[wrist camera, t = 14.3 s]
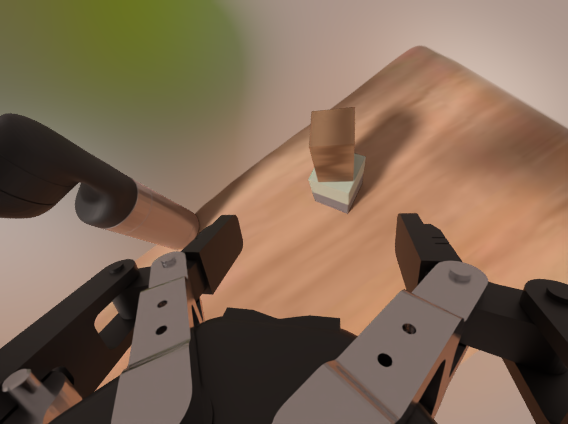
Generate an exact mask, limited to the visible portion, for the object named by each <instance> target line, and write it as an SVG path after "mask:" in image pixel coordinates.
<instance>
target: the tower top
mask: <svg viewBox="0 0 568 424" xmlns="http://www.w3.org/2000/svg"><path fill="white" fill-rule="evenodd" d="M365 159H366V156H362V155H359V154H355V153H354V174H353V181H350V182H318V179H317V176H316V172H315V168H314V169H313V171H312V173H311V175H310V177H309V179H308V180H309V183H310V186H311V189H312V192H314V193H317V194H320V195H322V196H325V197H328V198H331V199H333V200H336V201H339V202H341V203H344V204H347V205H349V203H350V201H351V199H352V197H353V194H354V192H355V190H356V188H357V186H358V184H359V181H360V179H361V177H362V175H363V173H364V167H365Z"/></svg>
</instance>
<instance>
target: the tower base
mask: <svg viewBox="0 0 568 424" xmlns="http://www.w3.org/2000/svg"><path fill="white" fill-rule="evenodd" d="M362 181H363V175H362V177H361V179H360V181H359V184H358V186H357V188H356V190H355V192H354V194H353V197H352V199H351V201H350V203H349V205H347V204H344V203H341V202H339V201H336V200H333V199H331V198H328V197H325V196H322V195H320V194H317V193H314V192H312V193H313V196H314V199H315V201H317V202H319V203H322V204H324V205H327V206H329V207H332V208H334V209H337V210H339V211H342V212H344V213H347V214H348V212H349V210H350V208H351V206H352V204H353V202H354V200H355V198H356V195H357V193H358V191H359V189H360V187H361V185H362Z"/></svg>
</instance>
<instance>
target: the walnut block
mask: <svg viewBox="0 0 568 424" xmlns="http://www.w3.org/2000/svg"><path fill="white" fill-rule="evenodd" d="M354 148H355V107H350V108H341V109H331V110H322V111H312V114H311V127H310V141H309V149H310V152H311V156H312V160H313V164H314V168H315V172H316V176H317V179H318V182H350V181H353V174H354Z"/></svg>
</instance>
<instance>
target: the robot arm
mask: <svg viewBox="0 0 568 424" xmlns="http://www.w3.org/2000/svg"><path fill="white" fill-rule="evenodd" d="M79 182H81V185H80V188H79V190H78V193H77V196H76V200H75V210H76V213H77V215H78V217H79V219H80V220H82V221H83V222H84V223H86V224H89V225H91V226H95V227H98V228H102V229H105V230H109V231H113V232H116V233H120V234H123V235H126V236H130V237H133V238H137V239H140V240H144V241H147V242H151V243H154V244H158V245H161V246H164V247H168V248H171V249H183V248H184V249H183V250H182V251H181V252H171V253H167V254H165V255H162V256H161V257H159V258H157V259H156V260H155V261H154V262H153V263H152V265H151V267H145V268H139V269H138V268H137V265H136V263H135V261H134V260H131V259H126V260H121V261H118V262H115V263H113V264H111V265H109V266H107V267H106V268H104V269H103V270H102V271H100V272H99V273H98V274H96V275H95V276H94V277H93V278H91V279H90V280H89V281H87V282H86V283H85V284H83V285H82V286H81V287H80V288H78V289H77V290H76V291H74V292H73V293H72V294H71V295H69V296H68V297H67V298H65V299H64V300H63V301H61V302H60V303H59V304H58V305H56V306H55V307H54V308H52V309H51V310H50V311H49V312H48V313H46V314H45V315H43V316H42V317H41V318H39V319H38V320H37V321H36V322H34V323H33V324H32V325H30V326H29V327H28V328H27V329H25V330H24V331H23V332H21V333H20V334H19V335H17V336H16V337H15V338H14V339H12V340H11V341H10V342H9V343H7V344H6V345H5V346H3V347H2V348H1V349H0V424H437V422H436V421H435V420H434V418H435V416H436V414H437V411H438V409H439V407H440V405H441V402H442V400H443V397H444V394H445V392H446V390H447V387H448V385H449V383H450V381H451V380H452V378H453V376H454V374H455V372H456V370H457V368H458V366H459V364H460V362H461V361H462V359H463V357H464V355H465V353H466V351H467V349H468V347H469V346H470V347H473V348H476V349H479V350H482V351H484V352H487V353H490V354H493V355H496V356H499V357H501V358H502V359H503V361H504V363H505V365H506V367H507V369H508V370H509V372H510V374H511V376H512V378H513V380H514V382H515V384H516V386H517V388H518V390H519V392H520V394H521V395H522V398H523V399H524V401H525V403H526V405H527V407H528V409H529V411H530V413H531V415H532V416H533V419H534V421H535V422H536V424H568V285H567V284H564V283H561V282H557V281H553V280H546V279H534V280H530V281H528V282H527V283H526V284H525V287H524V289H523V290H519V289H515V288H511V287H506V286H502V285H498V284H494V283H491V282H488V278H487V276H486V275H485V274H484V273H483V272H482V271H481V270H479V269H478V268H476V267H474V266H472V265H469V264H466V263H463V262H462V261H461V259H460V258H459V256H458V255H457V253H456V252H455V250H454V249H453V248H452V246H451V245H450V244H449V242H448V240H447V239H446V238H445V236H444V235H443V233H442V232H441V230H439V229H438V228H436V227H435V226H433V225H431V224H423V222H422V221H421V219H420V217H419V216H418V214H417V213H402V214H398V217H397V227H396V239H395V253H396V257H397V261H398V264H399V267H400V270H401V273H402V277H403V280H404V283H405V286H406V290H405V289H404V290H402V291H400V292H399V293H398V294H397V295H396V296H395V298H394V299H393V300H392V301H391V302H390V303H389V304H388V305H387V306H386V307H385V308H384V309H383V310H382V311H381V312H380V313H379V315H378V316H377V317H376V318H375V319H374V320H373V321H372V322H371V323H370V324H369V325H368V326H367V327H366V328H365V329H364V330H363V332H362V333H361V334H360V335H359V336H356V335H354V334H353V333H350V332H348V331H346V330H343V329H341V328H340V318H331V317H321V316H310V315H309V316H301V317H292V318H284V319H277V318H274V317H271V316H268V315H265V314H263V313H260V312H257V311H254V310H248V309H238V308H228V307H227V309H226V311H225V313H224V315H223V316H222V317H217V318H213V319H210V320H207V321H205V318H204V312H203V306H202V301H201V299H200V296H201V295H202V294H212V295H213V294H214V292H215V290H216V289H217V287H218V286H219V284H220V283H221V281H222V280H223V278H224V277H225V275H226V274H227V272H228V271H229V269H230V268H231V266H232V265H233V263H234V262H235V260H236V259H237V257H238V255H239V254H240V252H241V251H242V248H243V239H242V234H241V230H240V226H239V221H238V218H237V216H236V215H221V216H220V217H219V218H218V219H217V220H216V221H215V222H214V223H213V224H212V225H210V226H208V227H206V228H205V229H204V230H202V231H201V232H200V233H199V235H197V233H198V230H199V221H198V218H197V216H196V215H195V214H194V213H193V212H191V211H189V210H187V209H186V208H184V207H182V206H180V205H179V204H177V203H175V202H173V201H171V200H170V199H168V198H166V197H164V196H163V195H161V194H159V193H157V192H155V191H154V190H152V189H150V188H148V187H147V186H145V185H143V184H141V183H139V182H137V181H135V180H134V179H132V178H130V177H128V176H127V175H125V174H123V173H121V172H120V171H118V170H117V169H115V168H113V167H112V166H110V165H109V164H107V163H105V162H103V161H102V160H100V159H98V158H97V157H95V156H93V155H91V154H90V153H88V152H87V151H85V150H83V149H82V148H80V147H79V146H77V145H75V144H74V143H72V142H71V141H69V140H68V139H66V138H64V137H63V136H62V135H60V134H58V133H56V132H55V131H53V130H52V129H50V128H48V127H47V126H44V125H43V124H41V123H39V122H37V121H35V120H32V119H30V118H28V117H25V116H22V115H18V114H3V115H1V116H0V218H32V217H36V216H39V215H41V214H43V213H45V212H47V211H48V210H50V209H51V208H52V207H53V206H55V205H56V204H57V203H58V202H59V201H60V200H61V199H62V198H63V197H64V196H65V195H66V194H67V193H68V192H69V191H70V190H71V189H72V188H73V187H74V186H76V185H77V184H78V183H79ZM111 302H113V304H114V305H115V307H116V309H117V311H118V312H119V313H118V314H117V315H116V316H115V317H114V318H113V319H112V320H111V321H110V322H109V324H108V325H107V326H106V327H105V328H104V329H103V330H102V331H101V332H100V333H99V334H98V332H97V330H96V329H95V326H94V322H95V319H96V317H97V315H98V314H99V313H100V312H101V311H102V310H103V309H104V308H105V307H106V306H107V305H109V304H110V303H111ZM131 344H132V346H131ZM130 346H131V352H130V358H129V364H128V366H127V368H126V369H124V370H123V371H122V373H121V375H119V376H118V377H116V378H115V379H113V380H112V381H110V382H109V383H107V384H106V385H104V386H103V387H101V388H100V389H98V390H96V389H97V387H98V386H99V385H100V384H101V382H102V381H103V380H104V379H105V377H106V376H107V375H108V374H109V372H110V371H111V370H112V368H113V367H114V366H115V365H116V363H117V362H118V361H119V360H120V358H121V357H122V356H123V355H124V353H125V352H126V351H127V349H128V348H129V347H130ZM95 390H96V391H95ZM94 391H95V392H94Z"/></svg>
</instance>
